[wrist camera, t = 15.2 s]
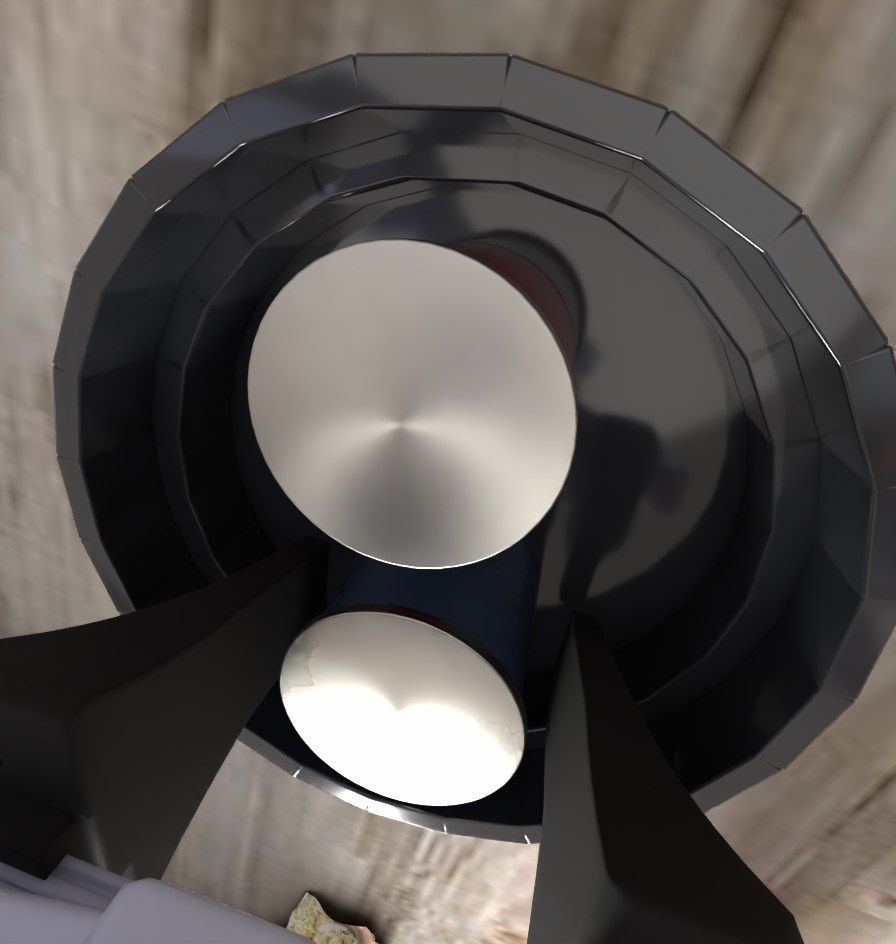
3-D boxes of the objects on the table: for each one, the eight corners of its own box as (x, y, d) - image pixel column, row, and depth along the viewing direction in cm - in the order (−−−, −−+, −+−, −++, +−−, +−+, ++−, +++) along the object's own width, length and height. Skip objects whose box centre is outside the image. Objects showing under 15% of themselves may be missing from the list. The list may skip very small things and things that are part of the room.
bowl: (234, 634, 19) (137, 746, 15) (155, 106, 12) (-61, 52, 8) (705, 743, 16) (742, 921, 12) (937, 124, 9) (1200, 49, 5)
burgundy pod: (365, 441, 14) (262, 540, 9) (362, 223, 12) (227, 226, 7) (566, 471, 13) (550, 595, 9) (603, 239, 11) (608, 252, 6)
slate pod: (360, 618, 16) (277, 759, 12) (375, 471, 14) (280, 580, 10) (524, 668, 16) (497, 835, 11) (567, 520, 13) (555, 661, 9)
